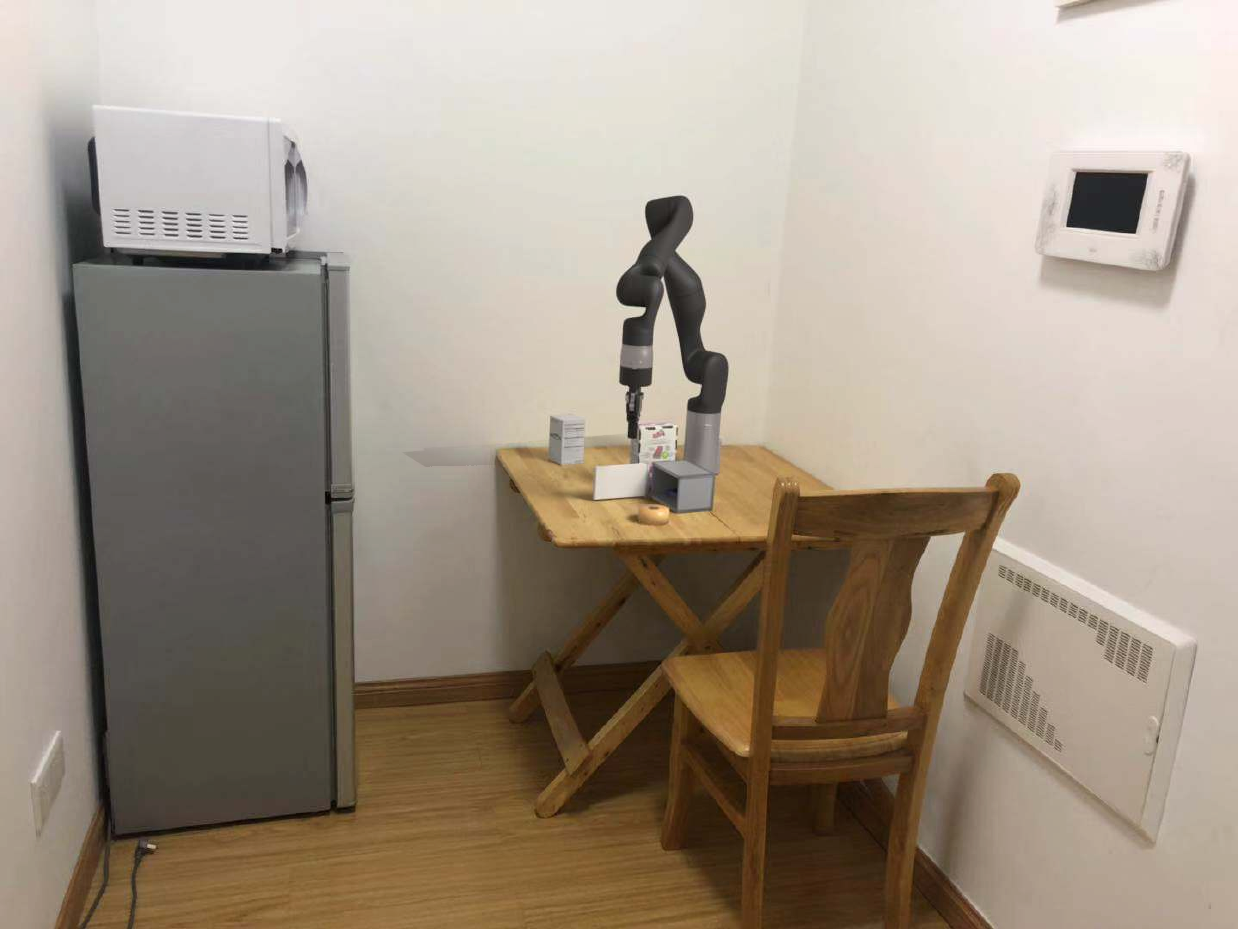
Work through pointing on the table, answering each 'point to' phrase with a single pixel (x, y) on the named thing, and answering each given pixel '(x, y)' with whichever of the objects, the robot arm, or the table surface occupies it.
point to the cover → (621, 481)
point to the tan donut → (653, 514)
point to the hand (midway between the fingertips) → (632, 438)
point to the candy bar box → (654, 444)
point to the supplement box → (566, 439)
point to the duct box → (682, 486)
